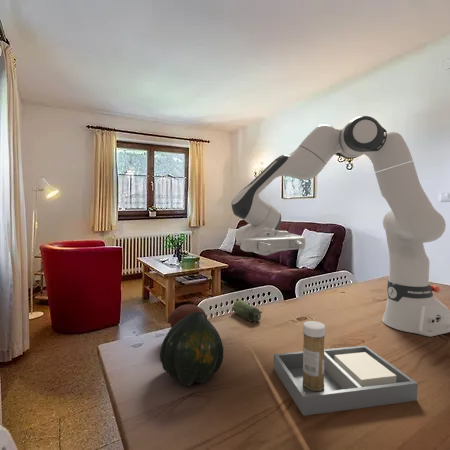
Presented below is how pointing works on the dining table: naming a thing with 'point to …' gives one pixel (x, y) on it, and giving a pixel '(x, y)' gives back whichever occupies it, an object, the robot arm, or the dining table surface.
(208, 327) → the squash
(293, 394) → the tray
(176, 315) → the muffin
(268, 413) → the dining table surface
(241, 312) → the vegetable
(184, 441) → the dining table surface
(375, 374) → the cream rectangular block
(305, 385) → the sprinkles bottle
